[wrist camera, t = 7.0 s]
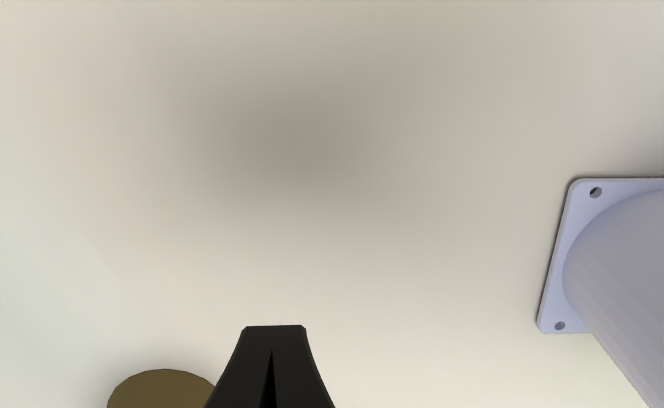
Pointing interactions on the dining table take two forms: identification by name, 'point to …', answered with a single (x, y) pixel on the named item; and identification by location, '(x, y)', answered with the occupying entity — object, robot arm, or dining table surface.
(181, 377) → the cork
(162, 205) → the dining table surface
